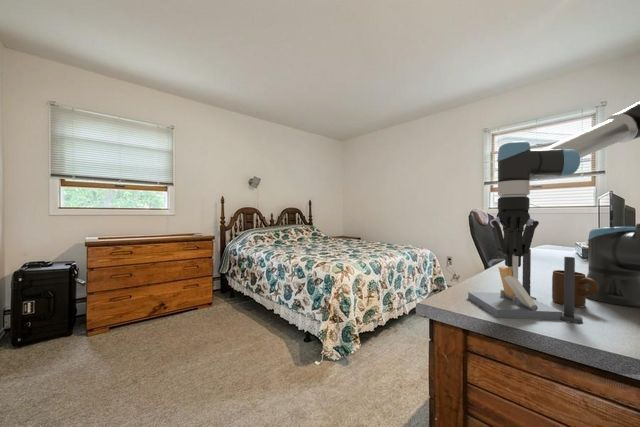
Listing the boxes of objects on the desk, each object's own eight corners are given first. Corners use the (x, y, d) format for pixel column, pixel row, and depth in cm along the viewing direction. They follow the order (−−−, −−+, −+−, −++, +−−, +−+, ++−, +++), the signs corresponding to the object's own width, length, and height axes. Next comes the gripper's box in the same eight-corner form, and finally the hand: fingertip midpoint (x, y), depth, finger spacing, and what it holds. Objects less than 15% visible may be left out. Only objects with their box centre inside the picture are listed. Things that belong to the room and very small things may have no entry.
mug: (610, 313, 75) (610, 279, 75) (584, 313, 74) (584, 279, 74) (567, 299, 87) (568, 270, 87) (545, 299, 86) (545, 270, 86)
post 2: (571, 315, 72) (571, 256, 72) (588, 323, 67) (588, 259, 67) (551, 315, 72) (551, 255, 72) (566, 322, 67) (567, 258, 67)
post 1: (529, 297, 88) (529, 248, 88) (540, 302, 83) (540, 250, 83) (512, 296, 88) (513, 248, 88) (523, 301, 83) (523, 250, 83)
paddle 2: (529, 304, 73) (508, 275, 73) (539, 308, 69) (517, 278, 70) (524, 307, 73) (503, 278, 74) (533, 312, 70) (512, 281, 70)
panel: (520, 299, 85) (520, 287, 85) (562, 319, 69) (562, 304, 69) (468, 298, 86) (468, 285, 86) (497, 317, 70) (497, 301, 70)
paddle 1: (511, 297, 81) (503, 266, 81) (519, 300, 77) (511, 268, 77) (505, 298, 81) (498, 267, 81) (513, 302, 77) (505, 269, 77)
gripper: (527, 197, 82) (527, 275, 82) (483, 197, 83) (482, 274, 82) (546, 195, 74) (546, 281, 74) (497, 195, 75) (497, 280, 75)
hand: (512, 277), depth 78 cm, fingers closed
